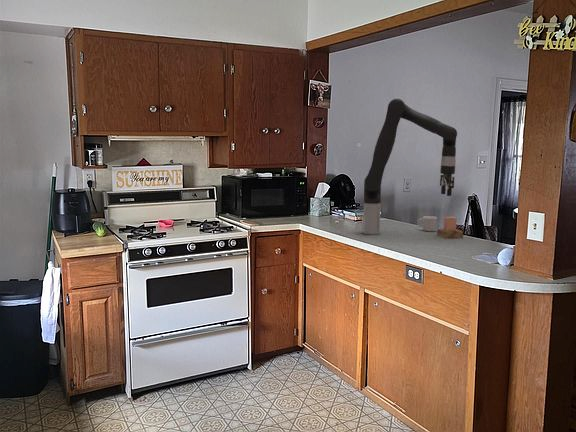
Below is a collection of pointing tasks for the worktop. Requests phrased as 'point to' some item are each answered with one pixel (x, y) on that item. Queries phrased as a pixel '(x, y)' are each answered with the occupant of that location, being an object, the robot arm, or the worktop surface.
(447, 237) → the walnut block
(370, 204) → the robot arm
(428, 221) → the cup
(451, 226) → the terracotta block
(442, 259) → the worktop surface
